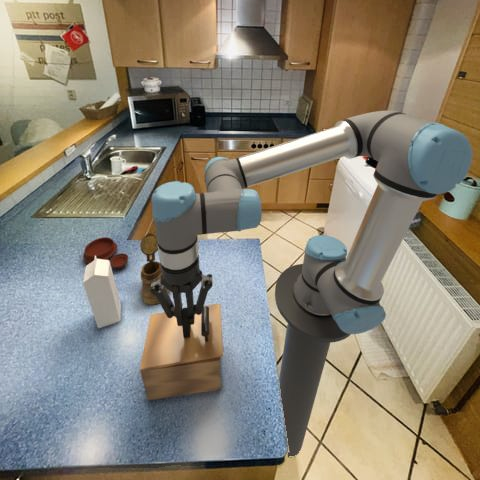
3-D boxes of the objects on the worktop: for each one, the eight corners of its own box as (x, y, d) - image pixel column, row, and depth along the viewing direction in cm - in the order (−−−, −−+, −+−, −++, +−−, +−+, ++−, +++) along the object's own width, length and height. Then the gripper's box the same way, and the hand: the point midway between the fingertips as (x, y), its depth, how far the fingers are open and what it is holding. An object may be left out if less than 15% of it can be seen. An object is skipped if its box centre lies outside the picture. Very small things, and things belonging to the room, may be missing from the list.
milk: (120, 304, 80) (107, 251, 71) (120, 321, 75) (106, 267, 66) (99, 310, 78) (83, 257, 69) (97, 329, 72) (79, 274, 64)
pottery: (105, 240, 105) (103, 232, 104) (139, 258, 97) (137, 250, 95) (77, 259, 96) (75, 250, 94) (112, 281, 87) (109, 272, 86)
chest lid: (220, 305, 66) (218, 292, 64) (223, 356, 55) (221, 343, 53) (151, 316, 64) (147, 304, 62) (140, 371, 53) (135, 358, 51)
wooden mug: (168, 268, 93) (163, 229, 85) (170, 300, 81) (164, 259, 74) (142, 273, 90) (135, 234, 83) (141, 308, 79) (132, 265, 71)
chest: (218, 337, 71) (217, 309, 66) (220, 389, 60) (220, 360, 55) (156, 344, 69) (151, 316, 64) (147, 400, 58) (140, 371, 53)
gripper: (212, 240, 54) (214, 313, 63) (149, 245, 52) (161, 318, 62) (213, 268, 47) (215, 345, 56) (140, 275, 45) (155, 352, 55)
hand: (187, 331), depth 59 cm, fingers closed
